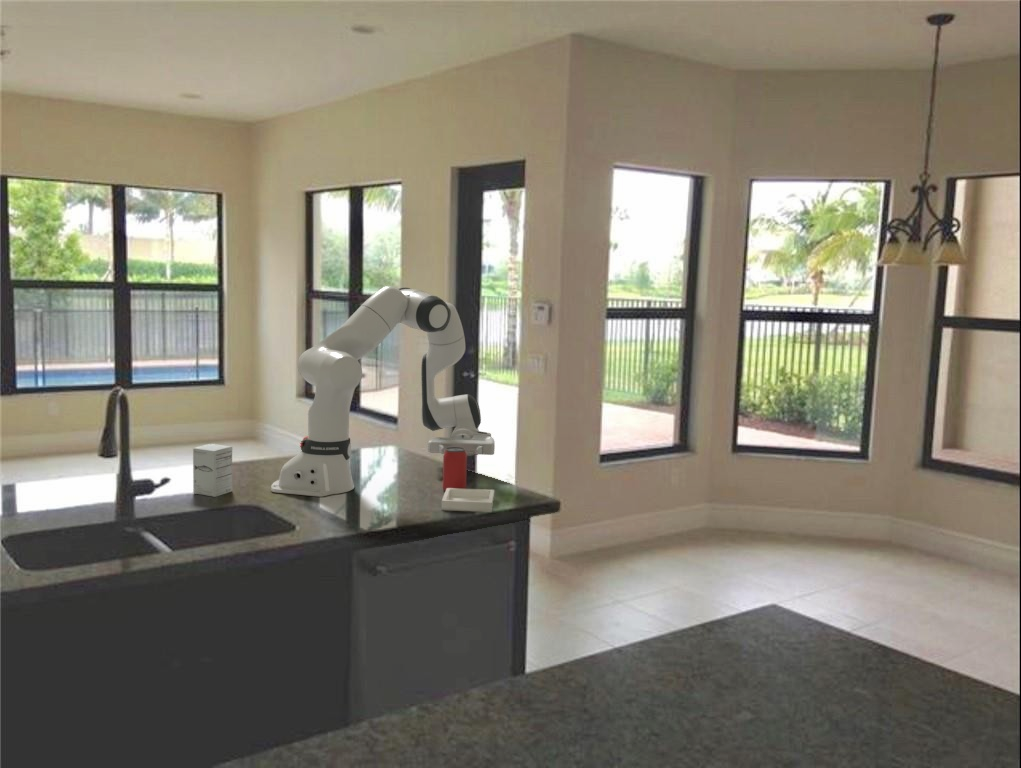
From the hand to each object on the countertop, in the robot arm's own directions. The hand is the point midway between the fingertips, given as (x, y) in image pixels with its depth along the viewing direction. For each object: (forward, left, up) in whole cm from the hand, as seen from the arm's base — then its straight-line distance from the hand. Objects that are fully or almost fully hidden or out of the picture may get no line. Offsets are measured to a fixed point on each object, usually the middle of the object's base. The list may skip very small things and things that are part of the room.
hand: (459, 451), depth 248 cm
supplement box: (-64, -24, -9) cm, 69 cm away
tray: (+5, -26, -8) cm, 28 cm away
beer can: (0, -12, -9) cm, 15 cm away
